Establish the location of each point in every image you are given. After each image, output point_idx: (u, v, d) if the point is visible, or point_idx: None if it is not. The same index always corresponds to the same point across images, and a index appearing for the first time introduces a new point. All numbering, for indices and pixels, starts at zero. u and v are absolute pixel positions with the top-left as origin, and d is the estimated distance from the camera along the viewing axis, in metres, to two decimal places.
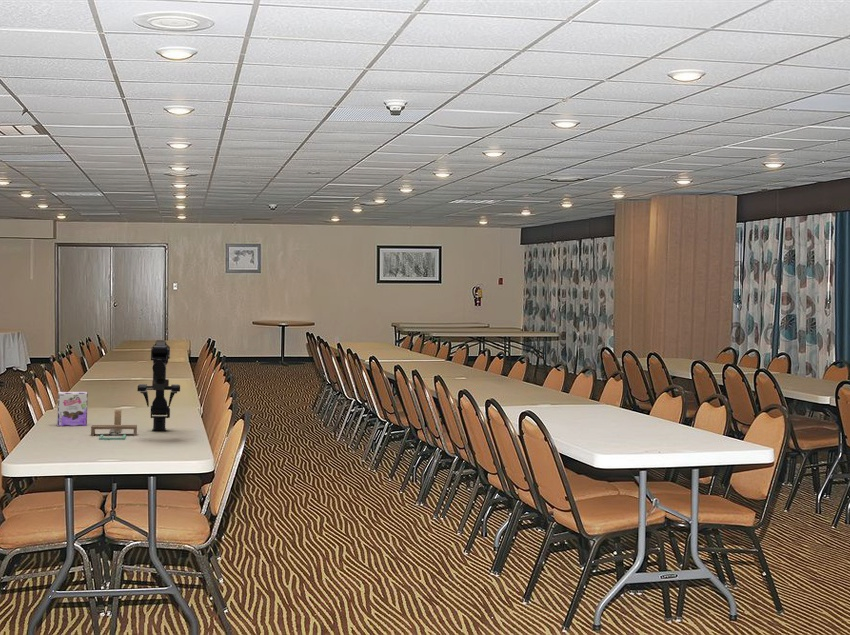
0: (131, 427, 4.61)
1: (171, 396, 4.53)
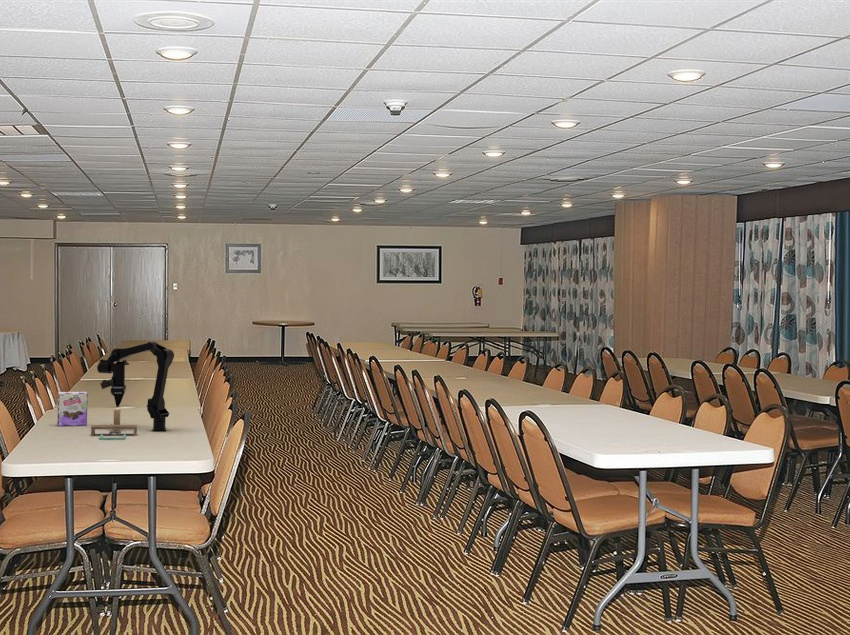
0: (131, 427, 4.61)
1: (114, 397, 4.80)
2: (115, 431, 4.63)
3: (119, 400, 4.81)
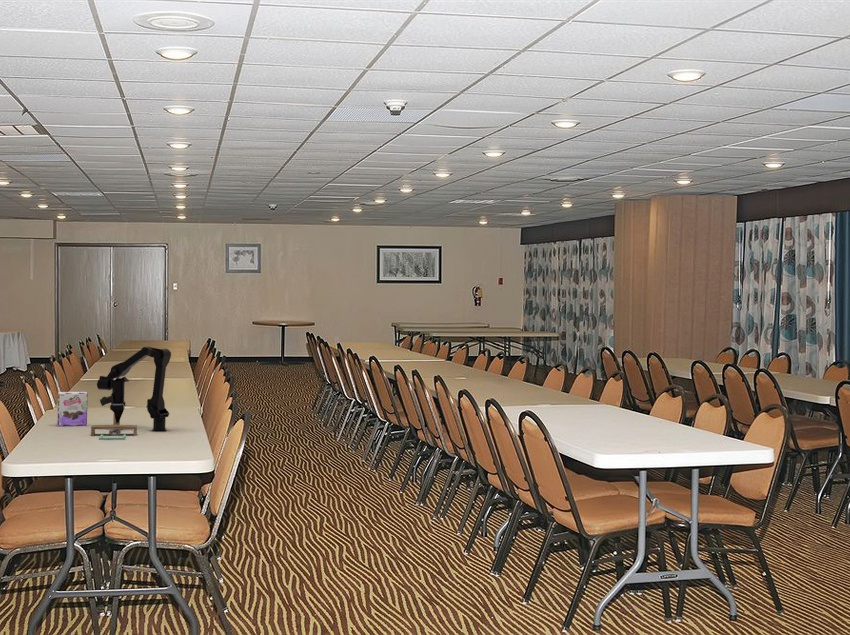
0: (131, 427, 4.61)
1: (114, 413, 4.83)
2: (114, 431, 4.63)
3: (119, 416, 4.84)
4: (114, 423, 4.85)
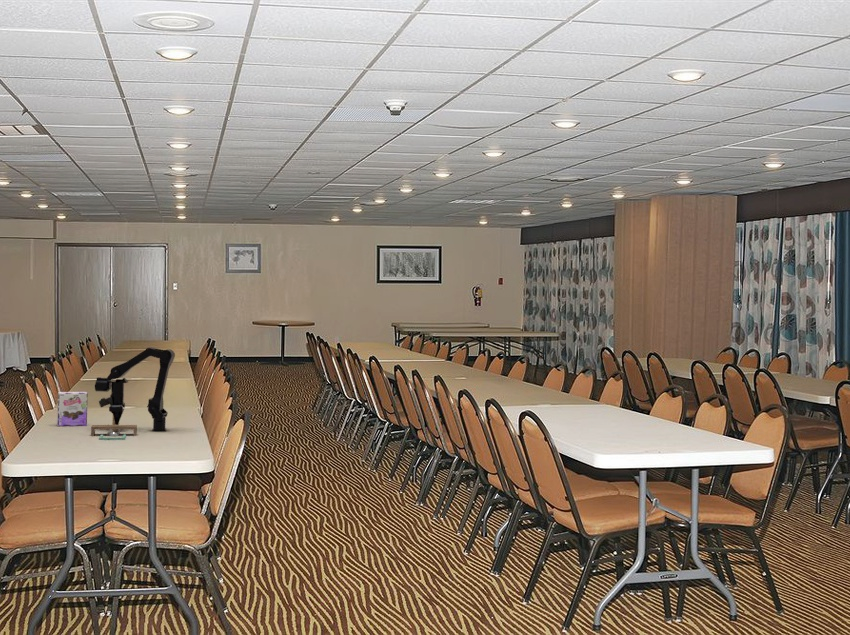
0: (131, 427, 4.61)
1: (113, 414, 4.77)
2: (112, 432, 4.60)
3: (118, 418, 4.78)
4: (113, 424, 4.79)
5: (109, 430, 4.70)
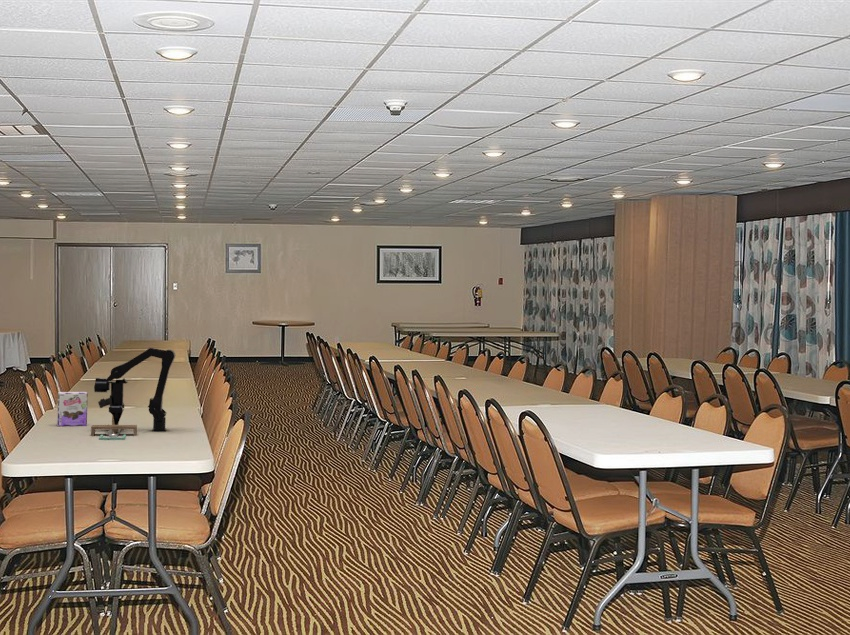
0: (131, 427, 4.61)
1: None
2: (111, 434, 4.56)
3: (118, 419, 4.75)
4: None
5: (109, 431, 4.67)
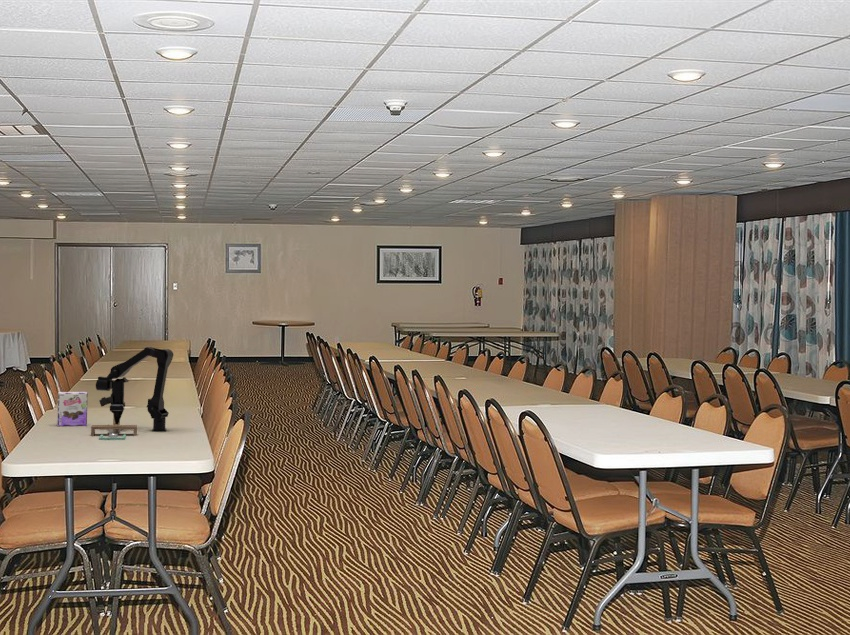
0: (131, 427, 4.61)
1: None
2: (111, 433, 4.56)
3: (118, 417, 4.79)
4: (114, 424, 4.82)
5: (110, 430, 4.73)
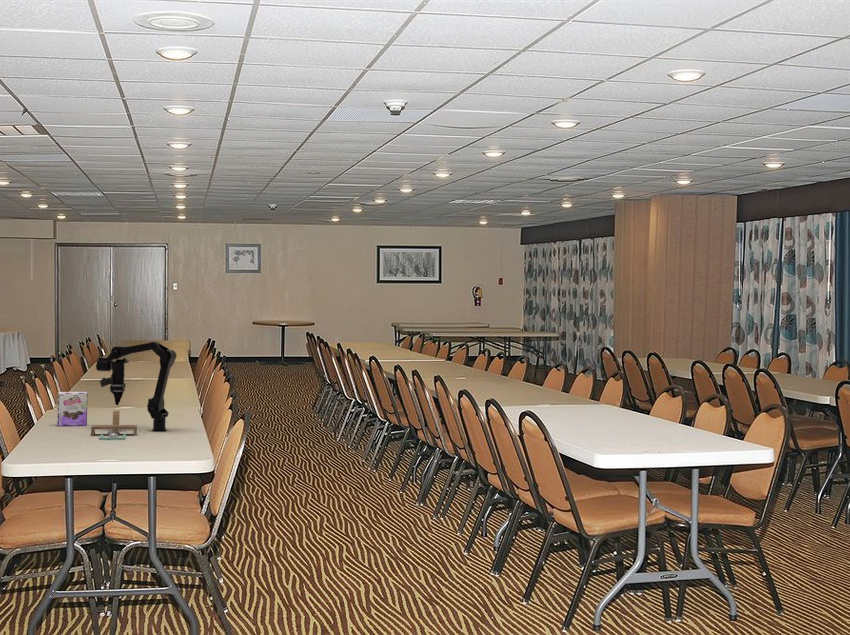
0: (131, 427, 4.61)
1: None
2: (111, 433, 4.56)
3: (118, 398, 4.78)
4: (113, 424, 4.82)
5: (110, 430, 4.73)
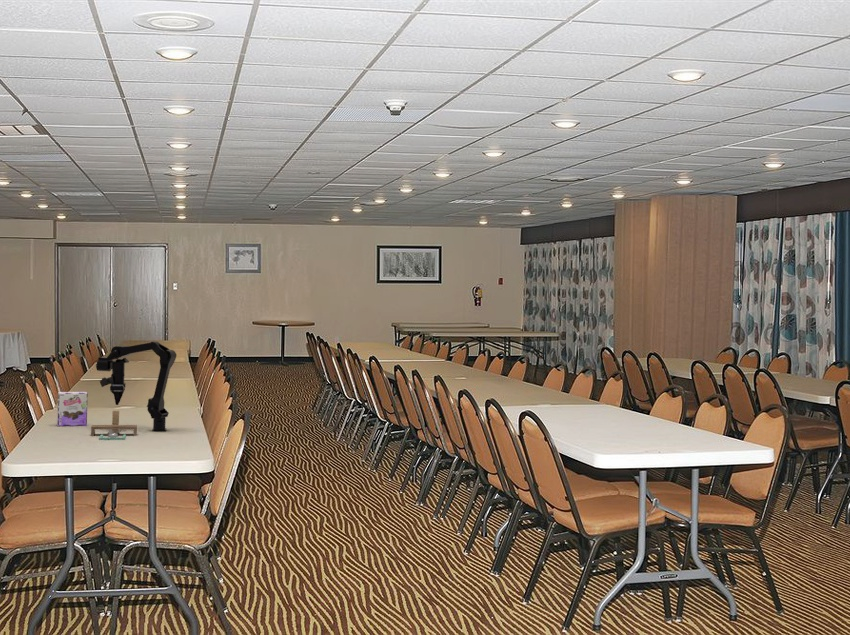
0: (131, 427, 4.61)
1: None
2: (110, 433, 4.55)
3: (119, 398, 4.78)
4: (113, 424, 4.82)
5: (109, 430, 4.73)
